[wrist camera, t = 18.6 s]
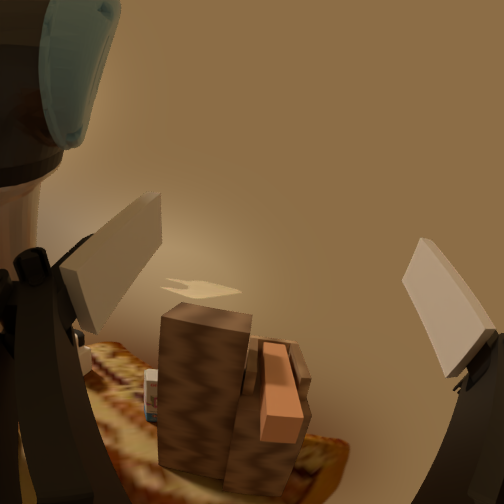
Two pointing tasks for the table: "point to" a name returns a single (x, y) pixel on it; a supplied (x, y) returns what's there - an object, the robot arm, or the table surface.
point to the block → (278, 397)
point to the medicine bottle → (83, 352)
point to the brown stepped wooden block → (221, 401)
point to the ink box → (150, 394)
